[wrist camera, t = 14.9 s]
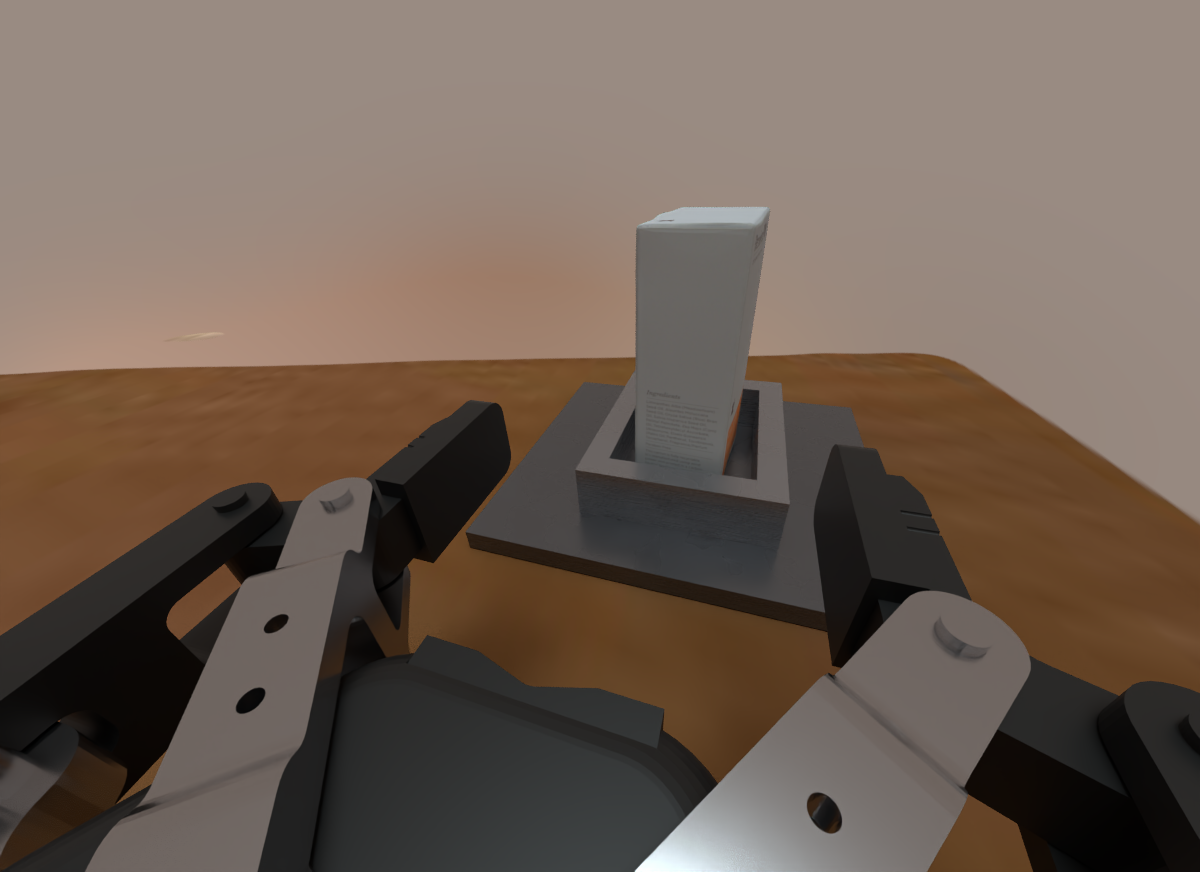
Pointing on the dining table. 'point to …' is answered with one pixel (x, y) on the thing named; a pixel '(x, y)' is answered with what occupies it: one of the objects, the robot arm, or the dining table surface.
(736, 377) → the skincare box
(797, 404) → the grey box holder
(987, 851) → the dining table surface
